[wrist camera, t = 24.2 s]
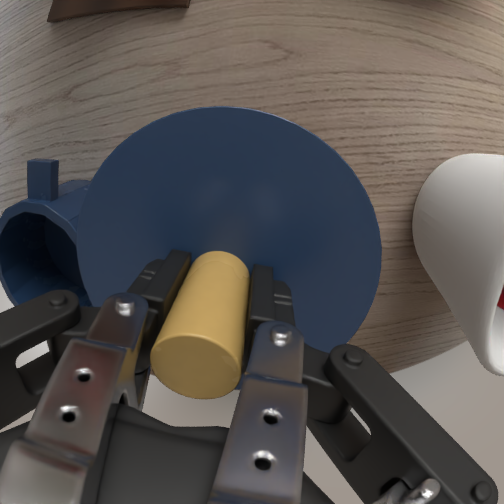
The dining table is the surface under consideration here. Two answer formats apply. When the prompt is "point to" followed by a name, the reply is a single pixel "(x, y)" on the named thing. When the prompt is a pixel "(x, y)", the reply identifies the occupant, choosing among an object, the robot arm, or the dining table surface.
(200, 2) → the dining table surface
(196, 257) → the pot lid
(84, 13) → the trivet
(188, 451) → the robot arm
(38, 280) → the pot
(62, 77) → the dining table surface
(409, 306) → the dining table surface
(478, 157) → the cup
